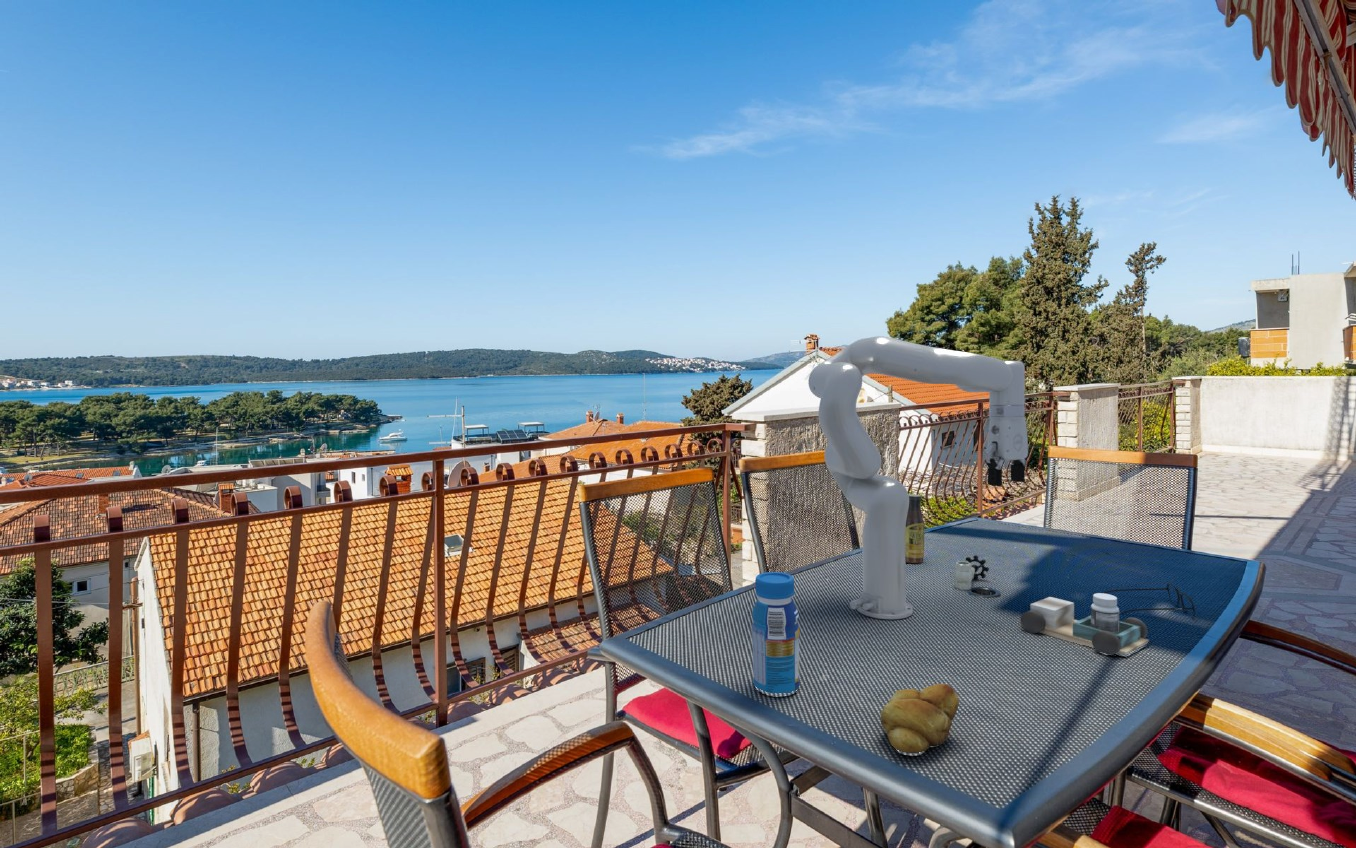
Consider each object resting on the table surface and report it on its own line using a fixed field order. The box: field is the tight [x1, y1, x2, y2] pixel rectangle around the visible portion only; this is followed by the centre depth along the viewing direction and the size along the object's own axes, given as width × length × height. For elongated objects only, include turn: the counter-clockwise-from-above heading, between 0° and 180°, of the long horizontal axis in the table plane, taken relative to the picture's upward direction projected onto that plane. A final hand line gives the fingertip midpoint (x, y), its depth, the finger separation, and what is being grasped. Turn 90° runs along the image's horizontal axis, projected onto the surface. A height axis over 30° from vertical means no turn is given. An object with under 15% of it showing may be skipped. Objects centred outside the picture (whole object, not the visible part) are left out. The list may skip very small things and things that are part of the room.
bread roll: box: [879, 683, 960, 753], centre depth 96 cm, size 13×10×8 cm
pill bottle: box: [1090, 592, 1120, 634], centre depth 129 cm, size 5×5×8 cm
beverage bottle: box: [750, 571, 801, 693], centre depth 113 cm, size 8×8×20 cm
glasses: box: [1103, 582, 1196, 617], centre depth 149 cm, size 14×15×5 cm
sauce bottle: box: [905, 493, 926, 564], centre depth 190 cm, size 6×6×20 cm
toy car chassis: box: [1020, 596, 1150, 656], centre depth 133 cm, size 13×20×5 cm, turn 33°
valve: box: [954, 554, 990, 591], centre depth 168 cm, size 7×7×12 cm
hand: (1006, 483), depth 155 cm, fingers open, 9 cm apart
